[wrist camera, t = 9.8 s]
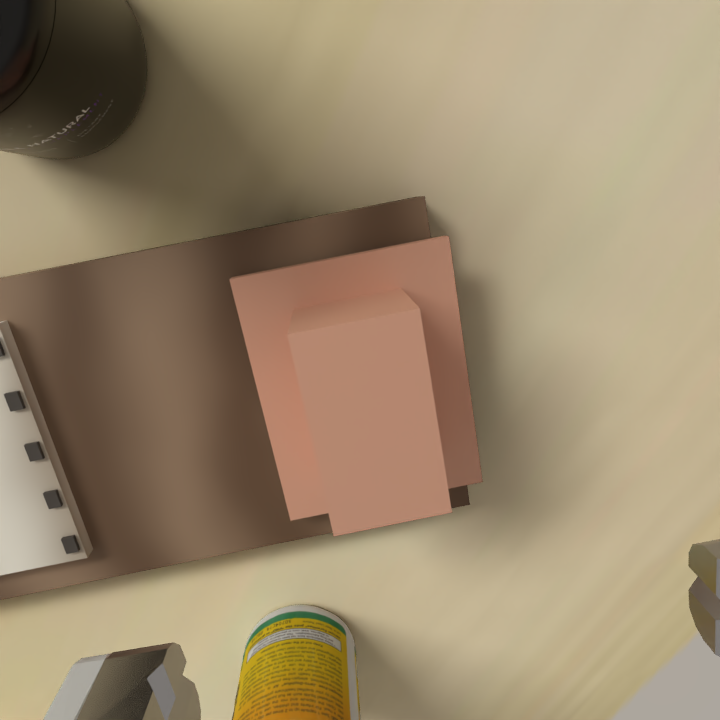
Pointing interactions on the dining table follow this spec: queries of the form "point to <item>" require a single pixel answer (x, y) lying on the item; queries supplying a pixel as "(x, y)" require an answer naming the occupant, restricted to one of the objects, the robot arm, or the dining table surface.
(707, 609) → the robot arm
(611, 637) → the dining table surface
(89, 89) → the supplement bottle
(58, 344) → the ticket board
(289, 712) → the supplement bottle
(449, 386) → the stub
